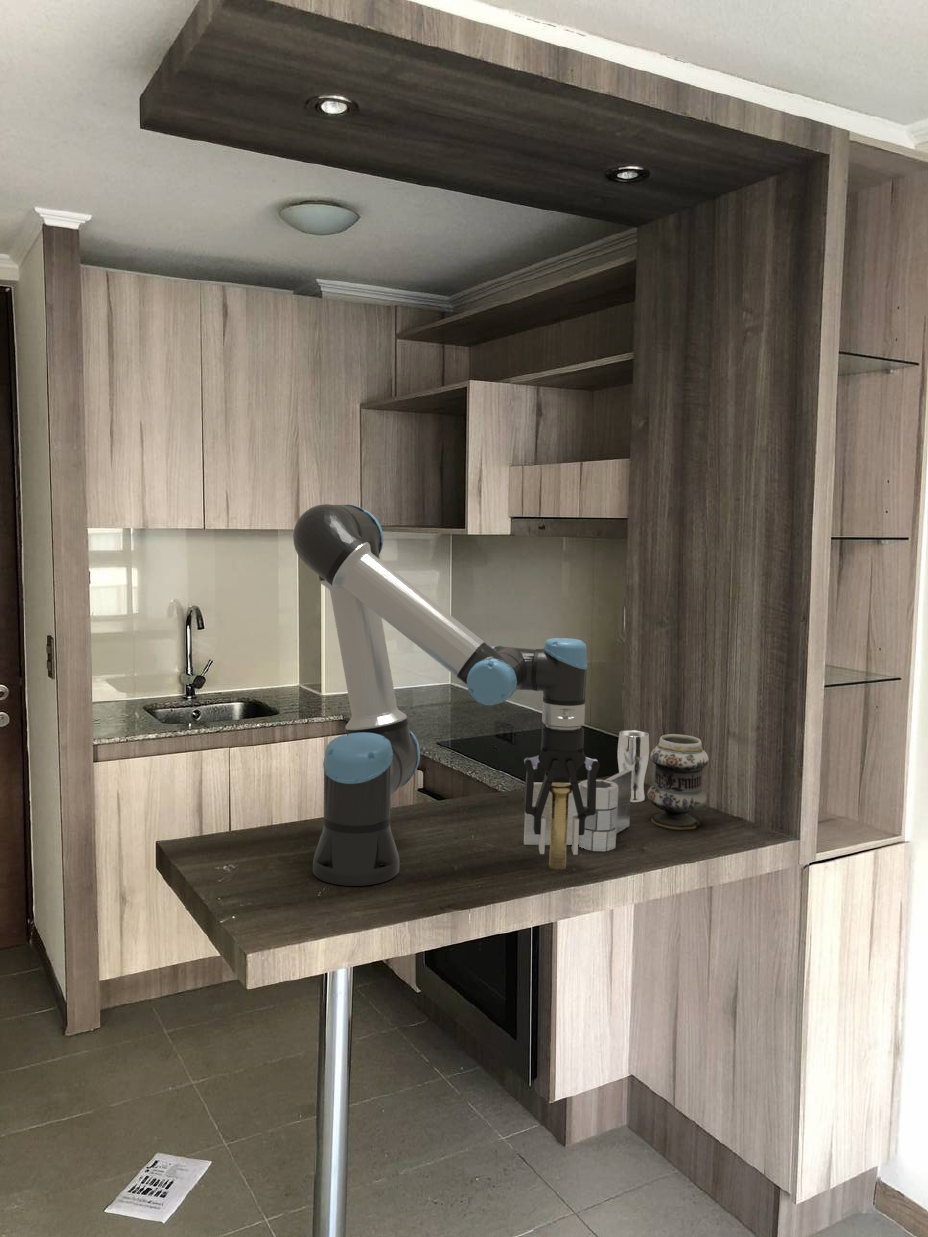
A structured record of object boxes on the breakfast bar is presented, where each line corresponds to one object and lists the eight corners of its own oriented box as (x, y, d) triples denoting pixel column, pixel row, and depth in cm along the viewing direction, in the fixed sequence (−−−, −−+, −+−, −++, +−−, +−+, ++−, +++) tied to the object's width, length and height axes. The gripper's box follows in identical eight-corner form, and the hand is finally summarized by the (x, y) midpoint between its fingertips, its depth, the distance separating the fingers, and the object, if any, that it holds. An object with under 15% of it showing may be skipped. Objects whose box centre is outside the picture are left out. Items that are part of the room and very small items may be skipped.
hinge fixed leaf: (525, 849, 186) (527, 788, 185) (522, 837, 193) (524, 778, 192) (617, 851, 186) (620, 790, 185) (611, 839, 193) (613, 779, 192)
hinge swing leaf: (605, 852, 185) (607, 791, 184) (571, 844, 189) (574, 785, 188) (642, 829, 199) (645, 772, 198) (610, 822, 203) (613, 766, 202)
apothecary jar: (697, 835, 197) (702, 748, 195) (639, 826, 202) (643, 740, 200) (710, 819, 208) (715, 736, 206) (654, 810, 213) (658, 729, 211)
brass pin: (547, 870, 176) (550, 788, 174) (545, 862, 180) (548, 782, 178) (569, 870, 176) (573, 789, 174) (566, 862, 180) (570, 782, 178)
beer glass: (642, 804, 217) (645, 738, 216) (611, 800, 220) (614, 734, 219) (650, 796, 224) (653, 732, 222) (620, 792, 227) (623, 728, 225)
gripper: (513, 728, 171) (508, 858, 173) (618, 731, 171) (612, 860, 174) (510, 719, 178) (505, 843, 181) (610, 722, 179) (604, 845, 181)
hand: (557, 851), depth 177 cm, fingers open, 5 cm apart
